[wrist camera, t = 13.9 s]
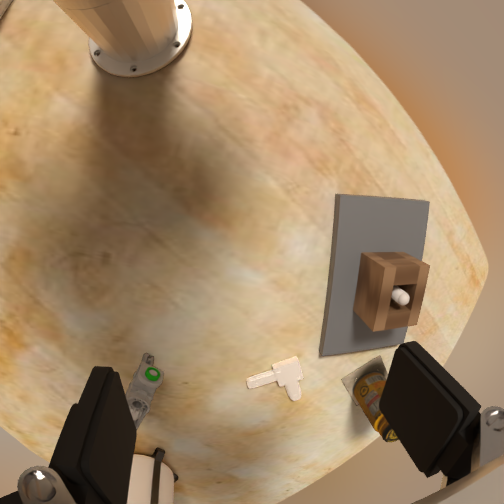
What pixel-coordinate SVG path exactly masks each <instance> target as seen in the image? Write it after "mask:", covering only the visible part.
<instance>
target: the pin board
mask: <svg viewBox="0 0 504 504" xmlns="http://www.w3.org/2000/svg"><path fill="white" fill-rule="evenodd" d="M429 203H430V202H428V201H424V200H415V199H404V198H392V197H378V196H364V195H347V194H336V195H335V211H334V224H333V237H332V248H331V259H330V268H329V278H328V287H327V295H326V303H325V311H324V319H323V326H322V333H321V340H320V347H319V351H320V353H321V355H322V356H326V355H334V354H342V353H349V352H356V351H362V350H369V349H375V348H381V347H387V346H392V345H398V344H402V343H404V339H405V335H406V332H407V328H408V326H407V327H401V328H395V329H388V330H381V331H374V332H373V331H372V330H371V329H370V328H369V327H368V326H367V325H366V324H365V322H364V321H363V320H362V319H361V318H360V317H359V316H358V315H357V314H356V313H355V312H354V311H353V306H354V300H355V293H356V287H357V280H358V273H359V265H360V258H361V252H405V253H407V254H409V255H411V256H413V257H415V258H417V259H418V260H420V261H422V256H423V250H424V244H425V237H426V229H427V221H428V212H429ZM391 298H392V299H394V300H395V301H396V302H397V303H399V304H400V305H406V304H407V303H408V302H409V299H410V297H409V295H408V293H406V292H405V291H403V290H402V289H401V288H399V287H398V286H397V285H394V286H393V290H392V296H391Z"/></svg>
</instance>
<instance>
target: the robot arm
mask: <svg viewBox="0 0 504 504" xmlns="http://www.w3.org/2000/svg"><path fill="white" fill-rule="evenodd" d="M53 1H54V2H55V3H56V4H57V5H58V6H59V7H60V8H61V9H62V10H63V11H64V12H65V13H66V14H67V15H68V16H69V17H70V18H71V19H72V20H73V21H74V22H75V23H76V24H77V25H78V26H79V27H80V28H81V29H82V30H83V31H84V32H85V33H86V34H87V35H88V36H89V50H90V54H91V56H92V58H93V60H94V61H95V62H96V64H97V65H98V66H99V67H101V68H102V69H103V70H105V71H106V72H108V73H110V74H113V75H116V76H121V77H138V76H143V75H147V74H150V73H152V72H155V71H158V70H159V69H161V68H163V67H165V66H166V65H168V64H169V63H170V62H172V61H173V60H174V59H175V58H176V57H177V56H178V55H179V54H180V53H181V52H182V51H183V49H184V48H185V46H186V45H187V43H188V41H189V38H190V36H191V32H192V16H191V12H190V9H189V7H188V5H187V4H186V3H185V1H184V0H53ZM181 8H182V9H181ZM176 46H179V47H178V48H175V47H176ZM99 54H100V55H99ZM98 55H99V56H98ZM134 69H137V70H136V71H135V72H133V70H134ZM480 408H481V405H480V404H479V403H478V402H477V401H476V400H475V399H474V398H473V397H472V396H471V395H470V394H469V393H468V392H467V391H466V390H465V389H464V388H463V387H462V386H461V385H460V384H459V383H458V382H457V381H456V380H455V379H454V378H453V377H452V376H451V375H450V374H449V373H448V372H447V371H446V370H445V369H444V368H443V367H442V366H441V365H440V364H439V363H438V362H437V361H436V360H435V359H434V358H433V357H432V356H431V355H430V354H429V353H428V352H427V351H426V350H425V349H424V348H423V347H422V346H421V345H420V344H419V343H417V342H416V341H412V342H407V343H402V344H400V345H399V347H398V349H396V351H395V353H394V357H393V360H392V364H391V367H390V370H389V374H388V377H387V380H386V383H385V386H384V389H383V392H382V395H381V398H380V401H379V409H380V411H381V413H382V414H383V416H384V417H385V419H386V420H387V422H388V423H389V425H390V426H391V428H392V429H393V431H394V433H395V434H396V436H397V437H398V439H399V440H400V441H401V443H402V445H403V446H404V448H405V449H406V451H407V452H408V454H409V455H410V457H411V459H412V460H413V462H414V463H415V465H416V466H417V468H418V469H419V471H420V472H424V474H425V475H426V477H427V478H428V477H430V476H432V475H434V474H437V473H438V472H439V471H440V470H441V471H442V473H443V477H442V483H441V488H440V490H439V491H437V492H435V493H433V494H431V495H429V496H427V497H425V498H423V499H421V500H418V501H416V502H414V503H412V504H504V409H502V408H500V407H493V406H492V407H488V408H486V409H485V410H484V411H483V412H482V413H481V414H480V413H479V410H480ZM135 442H136V426H135V423H134V420H133V417H132V415H131V412H130V409H129V405H128V402H127V399H126V396H125V393H124V389H123V386H122V383H121V379H120V376H119V373H118V372H114V371H113V369H112V367H101V366H95V367H94V368H93V369H92V372H91V374H90V376H89V379H88V381H87V383H86V386H85V388H84V390H83V393H82V395H81V398H80V400H79V403H78V404H77V403H75V404H73V405H72V407H71V409H70V411H69V414H68V416H67V419H66V421H65V424H64V426H63V429H62V431H61V434H60V437H59V439H58V442H57V445H56V447H55V450H54V453H53V456H52V458H51V461H50V464H49V467H45V466H34V467H30V468H29V469H27V470H25V471H24V472H23V473H22V474H21V475H20V477H19V480H18V486H17V488H18V491H16V492H13V493H11V494H9V495H6V496H4V497H2V498H0V504H127V500H128V491H129V483H130V476H131V468H132V461H133V455H134V448H135Z"/></svg>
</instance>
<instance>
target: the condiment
mask: <svg viewBox="0 0 504 504" xmlns="http://www.w3.org/2000/svg"><path fill="white" fill-rule="evenodd" d="M387 377H388V374H387V371H386V368H385V366H384V364H383V361H382V358H381V356H378V357H377V358H374V359H373V360H371V361H370V362H368V363H366V364H365V365H363V366H362V367H360V368H358V369H357V370H355V371H354V372H352V373H351V374H349V375H347V376H346V377H344V378H343V379H341V380H342V382H343V383H344V385H345V387H346V388H347V390H348V392H349V394H350V395H351V397H352V399H353V401H354V402H355V404H356V406H358V405H360V406H361V408H362V409H363V412H364V413H365V415H366V416H367V418H368V419H369V421H370V423H371V425H372V426H373V428H374V429H375V431H377V432H379V434H380V435H381V436H382V438H383V440H385V441H386V442H394V441H397V440H399V439H398V437H397V436H396V434H395V433H394V431H393V429H392V428H391V426H390V425H389V423H388V422H387V420H386V419H385V417H384V416H383V414H382V413H381V411H380V409H379V401H380V398H381V395H382V392H383V389H384V386H385V383H386V380H387ZM356 378H357V379H356ZM355 380H356V381H355Z"/></svg>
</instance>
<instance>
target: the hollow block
mask: <svg viewBox="0 0 504 504" xmlns="http://www.w3.org/2000/svg"><path fill="white" fill-rule="evenodd" d="M429 268H430V265H428V264H426V263H424V262H422V261H420V260H418V259H417V258H415V257H413V256H411V255H409V254H407V253H405V252H361V258H360V265H359V273H358V280H357V287H356V293H355V300H354V306H353V311H354V312H355V313H356V314H357V315H358V316H359V317H360V318H361V319H362V320H363V321H364V322H365V324H366V325H367V326H368V327H369V328H370V329H371V330H372V331H373V332H374V331H381V330H388V329H395V328H401V327H407V326H413V325H417V322H418V318H419V314H420V310H421V306H422V301H423V297H424V292H425V288H426V283H427V278H428V273H429ZM394 285H397V286H398V287H399V288H401V289H402V290H403V291H405V292H406V293H408V295H409V297H410V299H409V302H408V303H407V304H406V305H400V304H399V303H397V302H396V301H395V300H394V299H392V298H391V296H392V290H393V286H394Z"/></svg>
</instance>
